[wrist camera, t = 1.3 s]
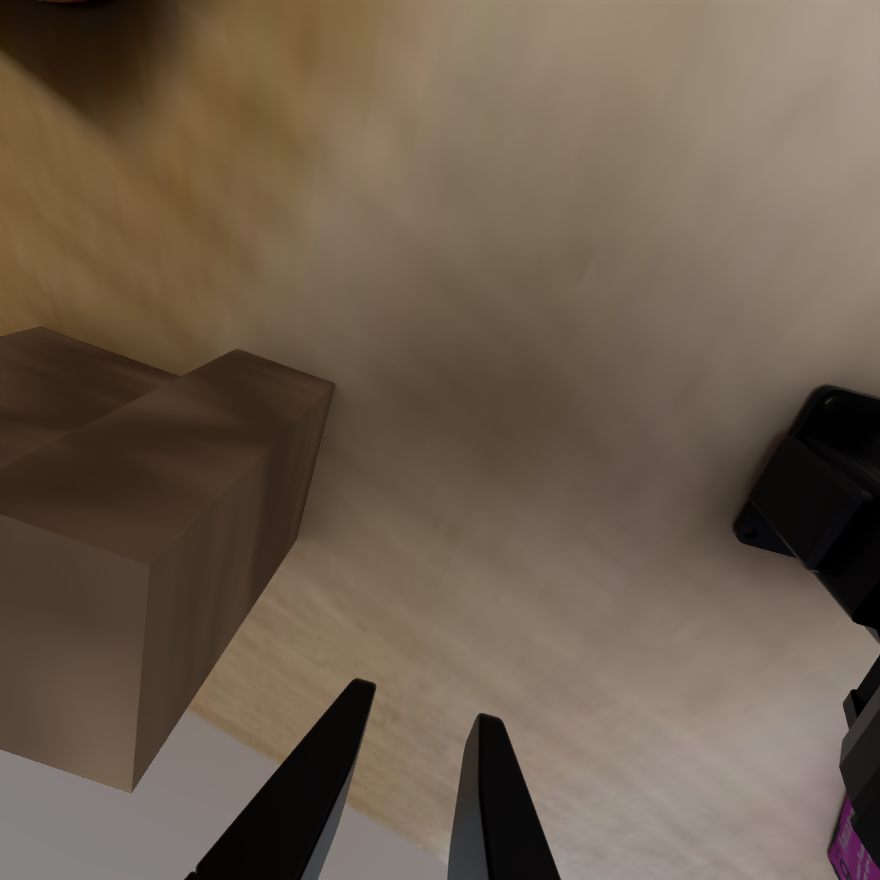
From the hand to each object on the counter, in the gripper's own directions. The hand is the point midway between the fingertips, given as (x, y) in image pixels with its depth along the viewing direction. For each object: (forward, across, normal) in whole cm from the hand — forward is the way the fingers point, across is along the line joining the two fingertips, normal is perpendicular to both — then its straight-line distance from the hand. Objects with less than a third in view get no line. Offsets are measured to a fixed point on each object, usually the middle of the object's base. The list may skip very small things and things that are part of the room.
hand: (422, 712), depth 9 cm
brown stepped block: (+12, +12, +3) cm, 17 cm away
